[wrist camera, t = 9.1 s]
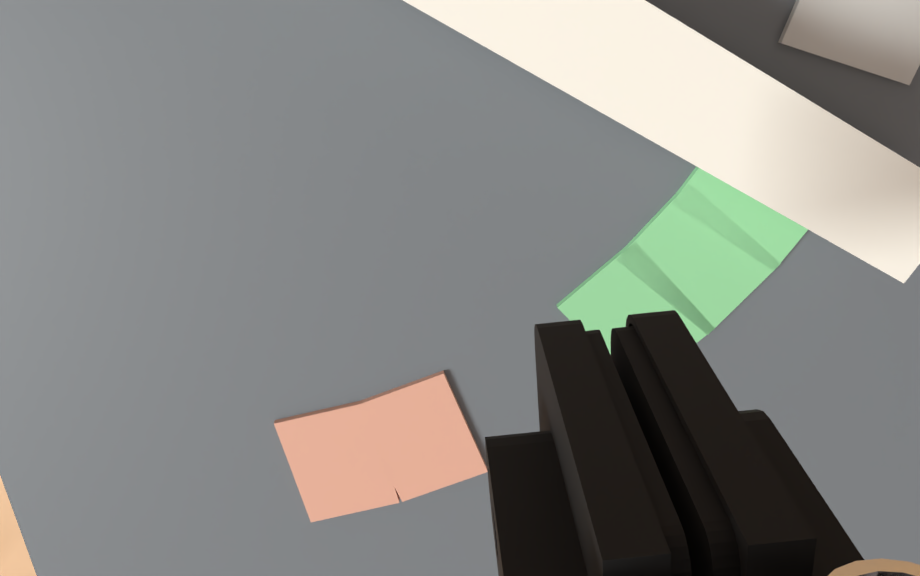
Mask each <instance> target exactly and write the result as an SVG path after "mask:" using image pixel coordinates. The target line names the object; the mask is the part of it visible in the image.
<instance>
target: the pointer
mask: <svg viewBox="0 0 920 576" xmlns="http://www.w3.org/2000/svg"><path fill="white" fill-rule="evenodd" d="M403 1H405V2H406V3H408V4H410V5H412V6H413V7H415V8H417V9H419V10H421V11H422V12H424V13H426V14H428V15H429V16H431V17H433V18H435V19H436V20H438V21H440V22H442V23H444V24H445V25H447V26H449V27H451V28H452V29H454V30H456V31H458V32H459V33H461V34H463V35H465V36H467V37H468V38H470V39H472V40H474V41H475V42H477V43H479V44H481V45H482V46H484V47H486V48H488V49H490V50H491V51H493V52H495V53H497V54H498V55H500V56H502V57H504V58H505V59H507V60H509V61H511V62H513V63H514V64H516V65H518V66H520V67H521V68H523V69H525V70H527V71H529V72H530V73H532V74H534V75H536V76H537V77H539V78H541V79H543V80H544V81H546V82H548V83H550V84H552V85H553V86H555V87H557V88H559V89H560V90H562V91H564V92H566V93H567V94H569V95H571V96H573V97H575V98H576V99H578V100H580V101H582V102H583V103H585V104H587V105H589V106H590V107H592V108H594V109H596V110H598V111H599V112H601V113H603V114H605V115H606V116H608V117H610V118H612V119H613V120H615V121H617V122H619V123H621V124H622V125H624V126H626V127H628V128H629V129H631V130H633V131H635V132H637V133H638V134H640V135H642V136H644V137H645V138H647V139H649V140H651V141H652V142H654V143H656V144H658V145H660V146H661V147H663V148H665V149H667V150H668V151H670V152H672V153H674V154H675V155H677V156H679V157H681V158H683V159H684V160H686V161H688V162H690V163H691V164H693V165H695V166H697V167H698V168H700V169H702V170H704V171H706V172H707V173H709V174H711V175H713V176H714V177H716V178H718V179H720V180H721V181H723V182H725V183H727V184H729V185H730V186H732V187H734V188H736V189H737V190H739V191H741V192H743V193H744V194H746V195H748V196H750V197H752V198H753V199H755V200H757V201H759V202H760V203H762V204H764V205H766V206H768V207H769V208H771V209H773V210H775V211H776V212H778V213H780V214H782V215H783V216H785V217H787V218H789V219H791V220H792V221H794V222H796V223H798V224H799V225H801V226H803V227H805V228H806V229H808V230H810V231H812V232H814V233H815V234H817V235H819V236H821V237H822V238H824V239H826V240H828V241H829V242H831V243H833V244H835V245H837V246H838V247H840V248H842V249H844V250H845V251H847V252H849V253H851V254H852V255H854V256H856V257H858V258H860V259H861V260H863V261H865V262H867V263H868V264H870V265H872V266H874V267H876V268H877V269H879V270H881V271H883V272H884V273H886V274H888V275H890V276H891V277H893V278H895V279H897V280H899V281H900V282H902V283H905V282H906V280H907V279H908V278H909V277H910V275H911V274H912V273H913V271H914V270H915V269H916V268H917V266H918V265H919V264H920V167H918V166H916V165H915V164H913V163H911V162H910V161H908V160H907V159H905V158H903V157H902V156H900V155H898V154H897V153H895V152H893V151H892V150H890V149H888V148H887V147H885V146H884V145H882V144H880V143H879V142H877V141H875V140H874V139H872V138H870V137H869V136H867V135H865V134H864V133H862V132H861V131H859V130H857V129H856V128H854V127H852V126H851V125H849V124H847V123H846V122H844V121H842V120H841V119H839V118H838V117H836V116H834V115H833V114H831V113H829V112H828V111H826V110H824V109H823V108H821V107H819V106H818V105H816V104H815V103H813V102H811V101H810V100H808V99H806V98H805V97H803V96H801V95H800V94H798V93H797V92H795V91H793V90H792V89H790V88H788V87H787V86H785V85H783V84H782V83H780V82H778V81H777V80H775V79H774V78H772V77H770V76H769V75H767V74H765V73H764V72H762V71H760V70H759V69H757V68H755V67H754V66H752V65H751V64H749V63H747V62H746V61H744V60H742V59H741V58H739V57H737V56H736V55H734V54H732V53H731V52H729V51H728V50H726V49H724V48H723V47H721V46H719V45H718V44H716V43H714V42H713V41H711V40H709V39H708V38H706V37H705V36H703V35H701V34H700V33H698V32H696V31H695V30H693V29H691V28H690V27H688V26H686V25H685V24H683V23H682V22H680V21H678V20H677V19H675V18H673V17H672V16H670V15H668V14H667V13H665V12H663V11H662V10H660V9H659V8H657V7H655V6H654V5H652V4H650V3H649V2H647V1H645V0H403Z"/></svg>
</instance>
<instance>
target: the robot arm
mask: <svg viewBox="0 0 920 576" xmlns="http://www.w3.org/2000/svg"><path fill="white" fill-rule="evenodd" d="M534 340H535V358H536V376H537V393H538V411H539V428H540V431H539V432H529V433H519V434H509V435H500V436H490V437H485V448H486V460H487V471H488V482H489V493H490V503H491V513H492V523H493V532H494V541H495V550H496V559H497V567H498V575H499V576H920V565H918V564H915V563H912V562H907V561H899V560H890V559H881V558H880V559H870V560H864V559H863V557H862V556H861V554H860V553H859V551H858V550H857V548H856V547H855V545H854V544H853V542H852V541H851V539H850V538H849V536H848V535H847V533H846V532H845V530H844V529H843V527H842V526H841V524H840V523H839V521H838V520H837V518H836V517H835V515H834V514H833V512H832V511H831V509H830V508H829V506H828V505H827V503H826V502H825V500H824V499H823V497H822V496H821V494H820V493H819V491H818V490H817V488H816V487H815V485H814V484H813V482H812V481H811V479H810V478H809V476H808V475H807V473H806V472H805V470H804V469H803V467H802V466H801V464H800V463H799V461H798V460H797V458H796V457H795V455H794V454H793V452H792V451H791V449H790V448H789V446H788V445H787V443H786V442H785V440H784V439H783V437H782V436H781V434H780V433H779V431H778V430H777V428H776V427H775V425H774V424H773V422H772V421H771V419H770V418H769V417H768V416H767V415H766V413H765V412H764V411H761V410H758V409H754V410H745V411H738V410H737V408H736V407H735V405H734V403H733V402H732V400H731V399H730V397H729V395H728V394H727V392H726V390H725V389H724V387H723V386H722V384H721V382H720V381H719V379H718V378H717V376H716V374H715V373H714V371H713V369H712V368H711V366H710V365H709V363H708V361H707V360H706V358H705V356H704V355H703V353H702V352H701V350H700V348H699V347H698V345H697V343H696V342H695V340H694V339H693V337H692V335H691V334H690V332H689V330H688V329H687V327H686V326H685V324H684V322H683V321H682V319H681V317H680V316H679V314H678V313H677V312H676V311H675V310H670V311H660V312H650V313H641V314H631V315H628V317H627V319H626V327H619V328H612V330H611V355H610V353H609V350H608V348H607V345H606V343H605V341H604V338H603V336H602V334H601V332H600V330H590V331H585V329H584V326H583V324H582V322H581V320H571V321H561V322H552V323H542V324H535V327H534Z"/></svg>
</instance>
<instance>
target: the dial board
mask: <svg viewBox="0 0 920 576" xmlns="http://www.w3.org/2000/svg"><path fill="white" fill-rule="evenodd" d="M645 1H647V2H649V3H650V4H652V5H654V6H655V7H657V8H659V9H660V10H662V11H663V12H665V13H667V14H668V15H670V16H672V17H673V18H675V19H677V20H678V21H680V22H682V23H683V24H685V25H686V26H688V27H690V28H691V29H693V30H695V31H696V32H698V33H700V34H701V35H703V36H705V37H706V38H708V39H709V40H711V41H713V42H714V43H716V44H718V45H719V46H721V47H723V48H724V49H726V50H728V51H729V52H731V53H732V54H734V55H736V56H737V57H739V58H741V59H742V60H744V61H746V62H747V63H749V64H751V65H752V66H754V67H755V68H757V69H759V70H760V71H762V72H764V73H765V74H767V75H769V76H770V77H772V78H774V79H775V80H777V81H778V82H780V83H782V84H783V85H785V86H787V87H788V88H790V89H792V90H793V91H795V92H797V93H798V94H800V95H801V96H803V97H805V98H806V99H808V100H810V101H811V102H813V103H815V104H816V105H818V106H819V107H821V108H823V109H824V110H826V111H828V112H829V113H831V114H833V115H834V116H836V117H838V118H839V119H841V120H842V121H844V122H846V123H847V124H849V125H851V126H852V127H854V128H856V129H857V130H859V131H861V132H862V133H864V134H865V135H867V136H869V137H870V138H872V139H874V140H875V141H877V142H879V143H880V144H882V145H884V146H885V147H887V148H888V149H890V150H892V151H893V152H895V153H897V154H898V155H900V156H902V157H903V158H905V159H907V160H908V161H910V162H911V163H913V164H915V165H916V166H918V167H920V0H645ZM670 310H675V311H676V312H677V313H678V314H679V316H680V317H681V319H682V321H683V322H684V324H685V326H686V327H687V329H688V330H689V332H690V334H691V335H692V337H693V339H694V340H695V342H696V343H697V345H698V347H699V348H700V350H701V352H702V353H703V355H704V356H705V358H706V360H707V361H708V363H709V365H710V366H711V368H712V369H713V371H714V373H715V374H716V376H717V378H718V379H719V381H720V382H721V384H722V386H723V387H724V389H725V390H726V392H727V394H728V395H729V397H730V399H731V400H732V402H733V403H734V405H735V407H736V408H737V410H738V411H745V410H754V409H758V410H761V411H764V412H765V413H766V415H767V416H768V417H769V418H770V419H771V421H772V422H773V424H774V425H775V427H776V428H777V430H778V431H779V433H780V434H781V436H782V437H783V439H784V440H785V442H786V443H787V445H788V446H789V448H790V449H791V451H792V452H793V454H794V455H795V457H796V458H797V460H798V461H799V463H800V464H801V466H802V467H803V469H804V470H805V472H806V473H807V475H808V476H809V478H810V479H811V481H812V482H813V484H814V485H815V487H816V488H817V490H818V491H819V493H820V494H821V496H822V497H823V499H824V500H825V502H826V503H827V505H828V506H829V508H830V509H831V511H832V512H833V514H834V515H835V517H836V518H837V520H838V521H839V523H840V524H841V526H842V527H843V529H844V530H845V532H846V533H847V535H848V536H849V538H850V539H851V541H852V542H853V544H854V545H855V547H856V548H857V550H858V551H859V553H860V554H861V556H862V557H863V559H864V560H870V559H880V558H881V559H890V560H899V561H907V562H912V563H915V564H918V565H920V264H919V265H918V266H917V268H916V269H915V270H914V271H913V273H912V274H911V275H910V277H909V278H908V279H907V280H906V282H905V283H902V282H900V281H899V280H897V279H895V278H893V277H891V276H890V275H888V274H886V273H884V272H883V271H881V270H879V269H877V268H876V267H874V266H872V265H870V264H868V263H867V262H865V261H863V260H861V259H860V258H858V257H856V256H854V255H852V254H851V253H849V252H847V251H845V250H844V249H842V248H840V247H838V246H837V245H835V244H833V243H831V242H829V241H828V240H826V239H824V238H822V237H821V236H819V235H817V234H815V233H814V232H812V231H810V230H808V229H806V228H805V227H803V226H801V225H799V224H798V223H796V222H794V221H792V220H791V219H789V218H787V217H785V216H783V215H782V214H780V213H778V212H776V211H775V210H773V209H771V208H769V207H768V206H766V205H764V204H762V203H760V202H759V201H757V200H755V199H753V198H752V197H750V196H748V195H746V194H744V193H743V192H741V191H739V190H737V189H736V188H734V187H732V186H730V185H729V184H727V183H725V182H723V181H721V180H720V179H718V178H716V177H714V176H713V175H711V174H709V173H707V172H706V171H704V170H702V169H700V168H698V167H697V166H695V165H693V164H691V163H690V162H688V161H686V160H684V159H683V158H681V157H679V156H677V155H675V154H674V153H672V152H670V151H668V150H667V149H665V148H663V147H661V146H660V145H658V144H656V143H654V142H652V141H651V140H649V139H647V138H645V137H644V136H642V135H640V134H638V133H637V132H635V131H633V130H631V129H629V128H628V127H626V126H624V125H622V124H621V123H619V122H617V121H615V120H613V119H612V118H610V117H608V116H606V115H605V114H603V113H601V112H599V111H598V110H596V109H594V108H592V107H590V106H589V105H587V104H585V103H583V102H582V101H580V100H578V99H576V98H575V97H573V96H571V95H569V94H567V93H566V92H564V91H562V90H560V89H559V88H557V87H555V86H553V85H552V84H550V83H548V82H546V81H544V80H543V79H541V78H539V77H537V76H536V75H534V74H532V73H530V72H529V71H527V70H525V69H523V68H521V67H520V66H518V65H516V64H514V63H513V62H511V61H509V60H507V59H505V58H504V57H502V56H500V55H498V54H497V53H495V52H493V51H491V50H490V49H488V48H486V47H484V46H482V45H481V44H479V43H477V42H475V41H474V40H472V39H470V38H468V37H467V36H465V35H463V34H461V33H459V32H458V31H456V30H454V29H452V28H451V27H449V26H447V25H445V24H444V23H442V22H440V21H438V20H436V19H435V18H433V17H431V16H429V15H428V14H426V13H424V12H422V11H421V10H419V9H417V8H415V7H413V6H412V5H410V4H408V3H406V2H405V1H403V0H0V475H1V478H2V481H3V484H4V486H5V489H6V492H7V495H8V497H9V500H10V503H11V506H12V508H13V511H14V514H15V517H16V519H17V522H18V525H19V528H20V530H21V533H22V536H23V539H24V541H25V544H26V547H27V550H28V552H29V555H30V558H31V561H32V564H33V566H34V569H35V572H36V575H37V576H499V575H498V567H497V559H496V550H495V541H494V532H493V523H492V513H491V503H490V493H489V482H488V471H487V460H486V448H485V437H490V436H500V435H509V434H519V433H529V432H539V431H540V428H539V411H538V393H537V376H536V358H535V340H534V327H535V324H542V323H552V322H561V321H571V320H581V322H582V324H583V326H584V329H585V331H590V330H600V332H601V334H602V336H603V338H604V341H605V343H606V345H607V348H608V350H609V353H610V355H611V330H612V328H619V327H626V319H627V317H628V315H631V314H641V313H650V312H660V311H670Z"/></svg>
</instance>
